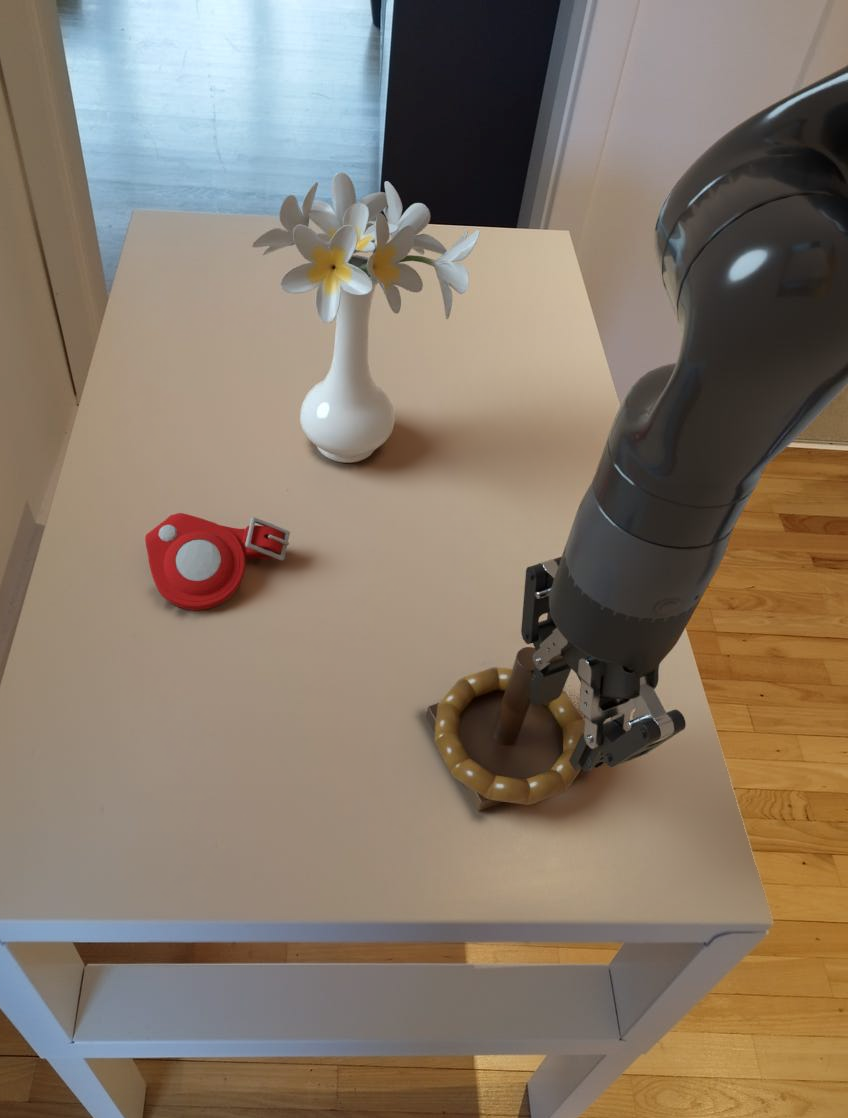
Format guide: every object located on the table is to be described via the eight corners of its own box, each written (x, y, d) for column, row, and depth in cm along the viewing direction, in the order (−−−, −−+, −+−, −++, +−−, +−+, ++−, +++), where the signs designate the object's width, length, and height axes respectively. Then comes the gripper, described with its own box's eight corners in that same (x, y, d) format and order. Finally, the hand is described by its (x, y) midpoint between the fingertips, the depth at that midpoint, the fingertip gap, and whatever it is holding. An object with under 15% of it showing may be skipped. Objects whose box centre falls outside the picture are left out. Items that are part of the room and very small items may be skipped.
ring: (536, 660, 75) (541, 647, 73) (612, 776, 69) (619, 765, 67) (409, 702, 72) (411, 689, 70) (476, 829, 65) (480, 818, 64)
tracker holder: (194, 625, 75) (115, 543, 77) (200, 641, 80) (125, 563, 81) (301, 533, 78) (223, 457, 80) (301, 554, 83) (227, 481, 84)
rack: (522, 682, 75) (553, 593, 66) (580, 771, 70) (621, 689, 61) (425, 716, 73) (443, 628, 64) (478, 811, 68) (505, 731, 59)
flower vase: (454, 477, 90) (499, 235, 70) (267, 491, 87) (258, 243, 67) (427, 394, 97) (460, 154, 77) (254, 404, 95) (242, 158, 75)
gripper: (782, 640, 45) (670, 800, 58) (621, 455, 52) (556, 635, 66) (657, 686, 43) (571, 841, 56) (508, 487, 50) (464, 666, 64)
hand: (563, 729), depth 61 cm, fingers open, 4 cm apart
